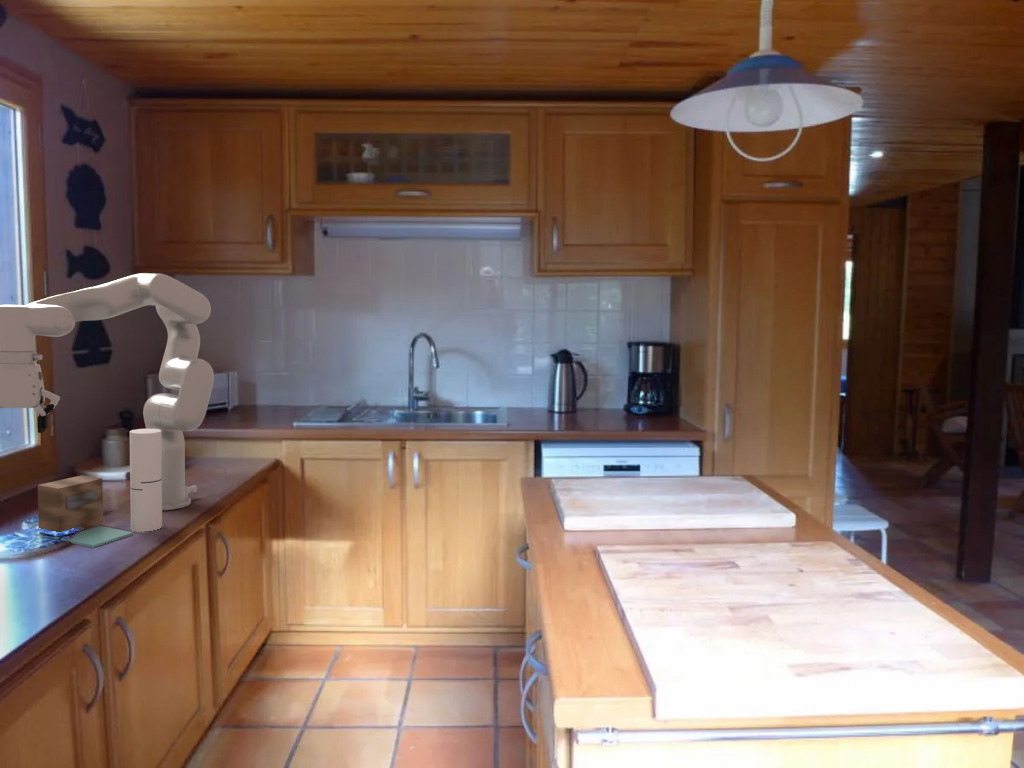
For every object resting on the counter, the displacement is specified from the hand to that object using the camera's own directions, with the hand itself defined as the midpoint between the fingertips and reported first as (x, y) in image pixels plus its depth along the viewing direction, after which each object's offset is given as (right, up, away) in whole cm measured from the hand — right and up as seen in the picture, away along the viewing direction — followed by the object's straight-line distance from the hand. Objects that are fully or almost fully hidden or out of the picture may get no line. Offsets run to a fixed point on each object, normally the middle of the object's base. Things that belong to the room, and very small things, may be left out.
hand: (18, 432), depth 171 cm
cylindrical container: (+22, -26, +16) cm, 37 cm away
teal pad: (+14, -26, +7) cm, 31 cm away
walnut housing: (+5, -25, +13) cm, 29 cm away
